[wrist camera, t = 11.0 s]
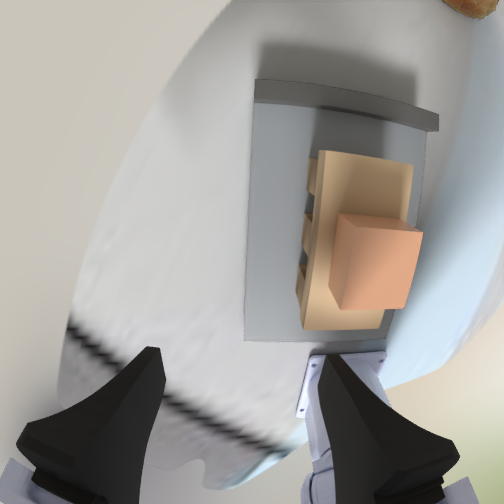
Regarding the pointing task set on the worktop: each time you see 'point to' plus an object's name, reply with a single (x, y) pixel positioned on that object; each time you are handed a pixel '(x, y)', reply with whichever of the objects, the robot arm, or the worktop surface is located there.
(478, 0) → the brown rounded lump
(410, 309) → the worktop surface
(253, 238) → the dock
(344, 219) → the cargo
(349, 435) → the robot arm
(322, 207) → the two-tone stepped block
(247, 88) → the worktop surface
